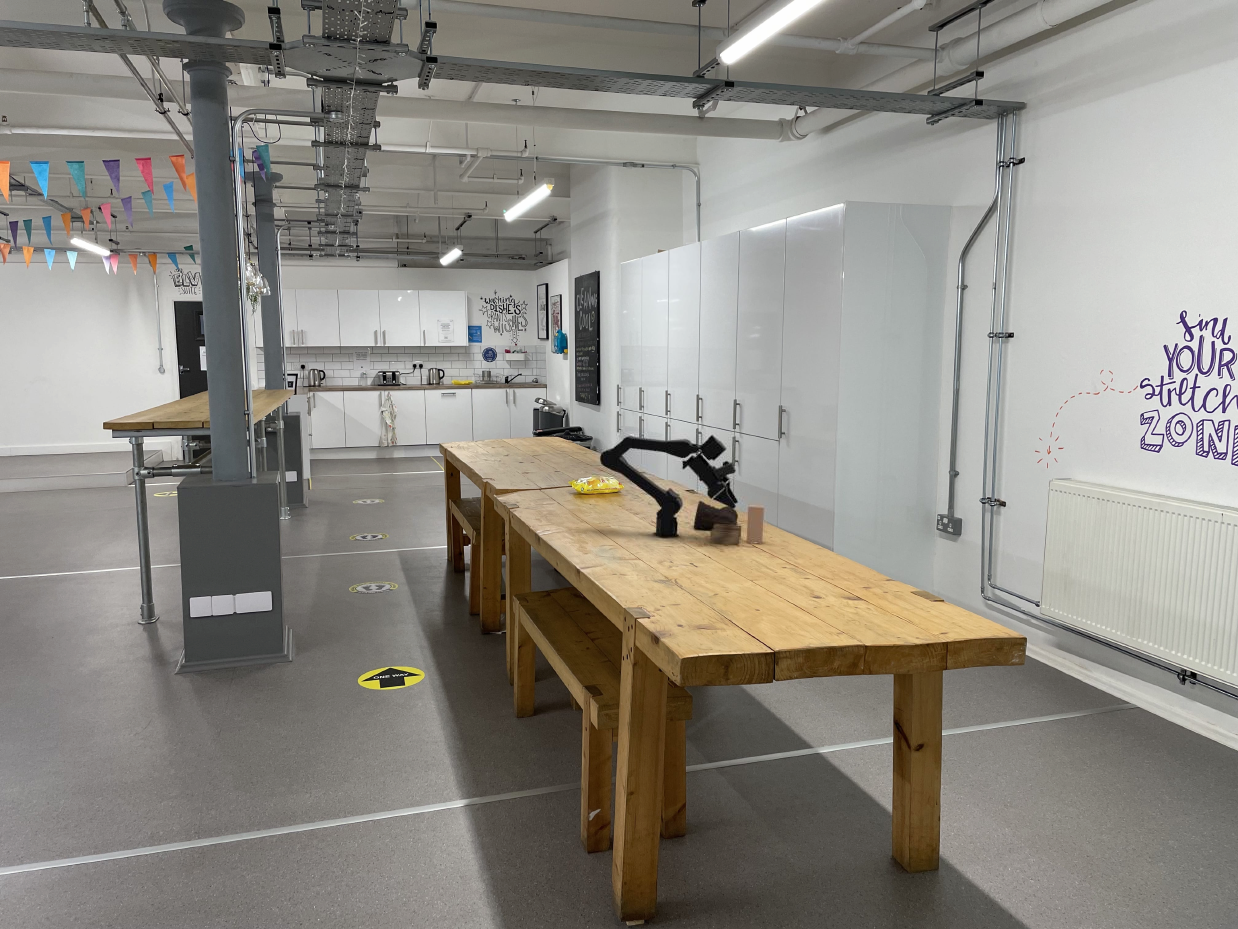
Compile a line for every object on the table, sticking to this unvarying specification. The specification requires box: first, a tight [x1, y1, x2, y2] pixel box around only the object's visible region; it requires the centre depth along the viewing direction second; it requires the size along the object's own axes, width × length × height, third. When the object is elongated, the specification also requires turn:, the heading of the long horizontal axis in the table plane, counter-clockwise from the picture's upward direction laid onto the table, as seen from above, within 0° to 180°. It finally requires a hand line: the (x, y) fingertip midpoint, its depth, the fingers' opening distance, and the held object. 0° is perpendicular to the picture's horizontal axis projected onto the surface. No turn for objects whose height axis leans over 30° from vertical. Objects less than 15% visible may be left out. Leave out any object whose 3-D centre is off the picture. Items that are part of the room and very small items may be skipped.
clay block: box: [746, 504, 765, 544], centre depth 283 cm, size 5×4×12 cm
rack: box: [709, 524, 742, 546], centre depth 285 cm, size 9×13×4 cm
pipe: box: [693, 500, 739, 530], centre depth 305 cm, size 10×15×15 cm
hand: (735, 505), depth 283 cm, fingers open, 9 cm apart
